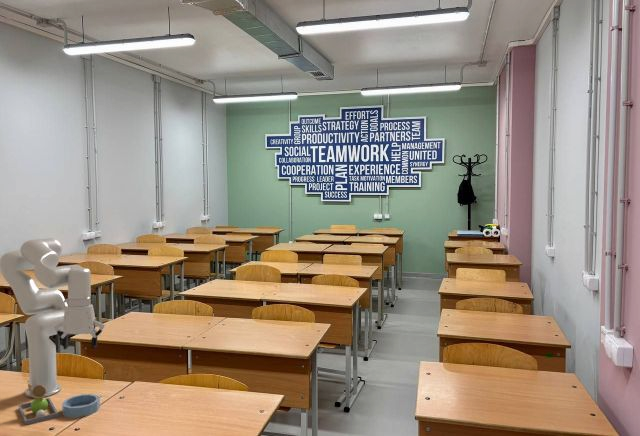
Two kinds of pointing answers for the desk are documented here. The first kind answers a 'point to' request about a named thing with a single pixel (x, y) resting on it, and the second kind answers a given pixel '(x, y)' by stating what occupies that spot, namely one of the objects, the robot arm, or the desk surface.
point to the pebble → (40, 413)
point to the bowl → (80, 405)
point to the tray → (37, 417)
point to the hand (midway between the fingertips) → (80, 347)
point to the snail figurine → (38, 398)
